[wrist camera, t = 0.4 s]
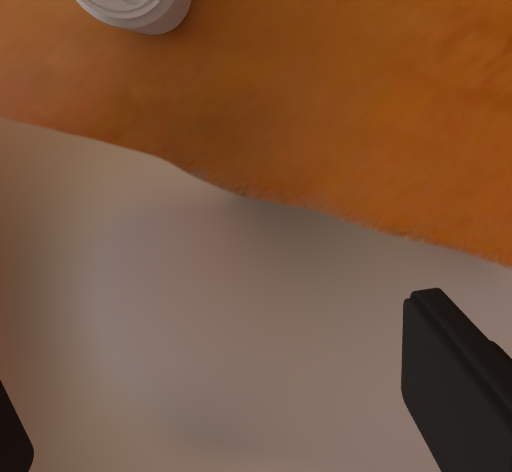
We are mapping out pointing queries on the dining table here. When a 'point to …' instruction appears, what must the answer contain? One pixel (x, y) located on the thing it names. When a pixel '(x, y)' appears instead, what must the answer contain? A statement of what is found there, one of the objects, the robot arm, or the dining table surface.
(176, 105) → the dining table surface
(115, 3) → the beverage can
